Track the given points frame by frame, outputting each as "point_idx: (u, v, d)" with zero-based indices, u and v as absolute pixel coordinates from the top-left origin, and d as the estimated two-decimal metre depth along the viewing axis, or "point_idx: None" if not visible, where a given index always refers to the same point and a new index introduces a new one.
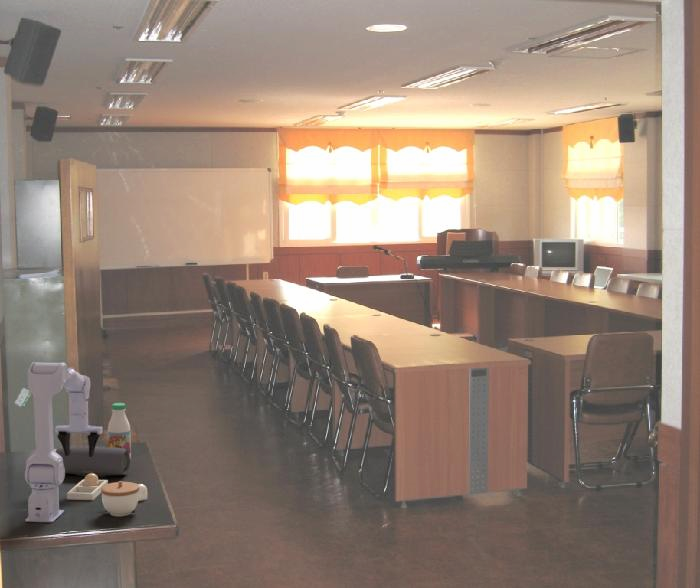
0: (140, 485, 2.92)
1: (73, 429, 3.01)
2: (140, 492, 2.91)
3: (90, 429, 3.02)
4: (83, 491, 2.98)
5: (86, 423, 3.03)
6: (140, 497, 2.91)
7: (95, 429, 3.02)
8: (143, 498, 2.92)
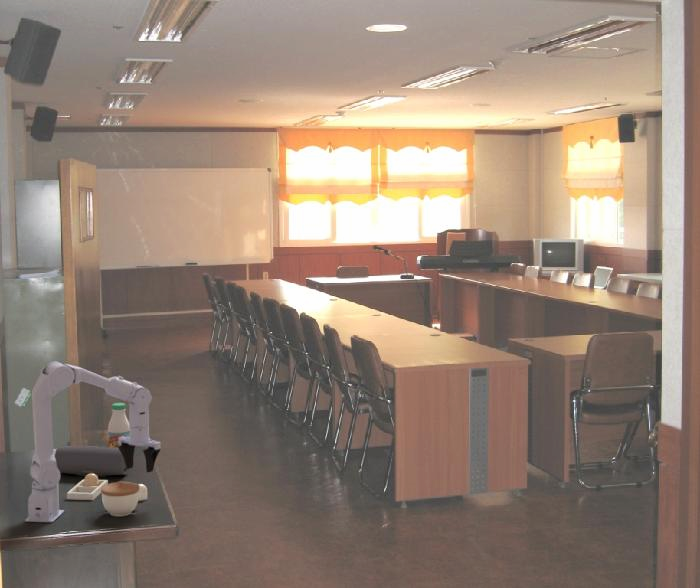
0: (140, 485, 2.92)
1: (131, 442, 2.89)
2: (140, 492, 2.91)
3: (147, 443, 2.88)
4: (83, 491, 2.98)
5: (145, 437, 2.90)
6: (140, 497, 2.91)
7: (152, 444, 2.88)
8: (143, 498, 2.92)
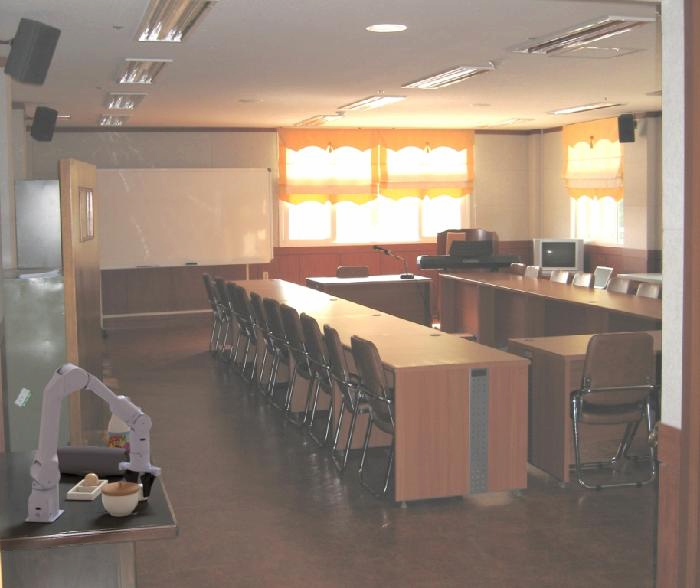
0: (140, 485, 2.92)
1: (131, 468, 2.90)
2: (140, 492, 2.91)
3: (147, 470, 2.89)
4: (83, 491, 2.98)
5: (145, 463, 2.90)
6: (140, 497, 2.91)
7: (152, 470, 2.89)
8: (143, 498, 2.92)
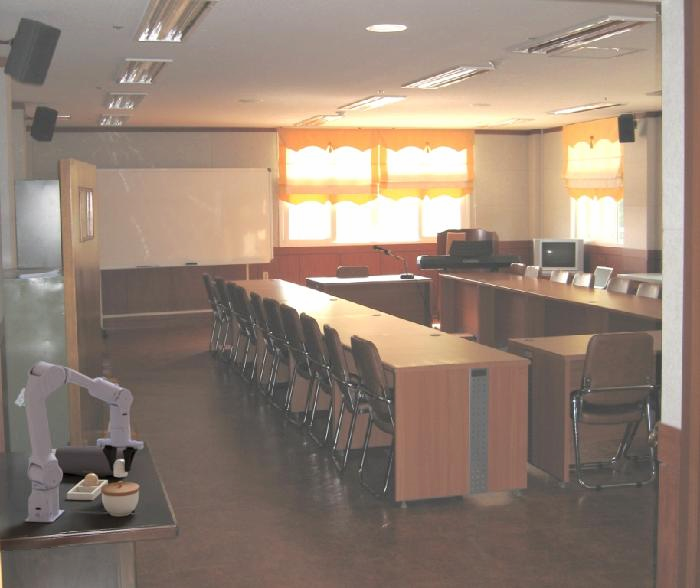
0: (121, 460, 2.94)
1: (113, 443, 2.91)
2: (122, 467, 2.93)
3: (130, 444, 2.92)
4: (83, 491, 2.98)
5: (127, 437, 2.93)
6: (122, 472, 2.93)
7: (135, 444, 2.92)
8: (125, 472, 2.94)
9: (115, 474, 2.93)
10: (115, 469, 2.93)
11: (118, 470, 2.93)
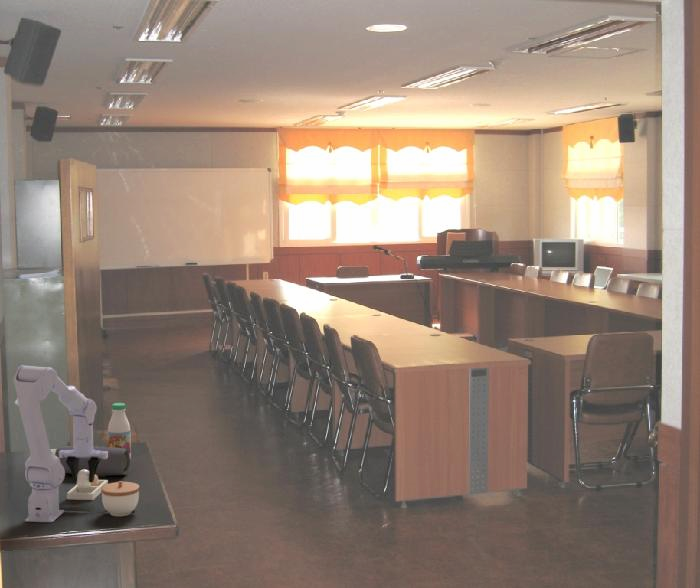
0: (85, 470, 2.94)
1: (77, 454, 2.91)
2: (86, 477, 2.93)
3: (95, 454, 2.92)
4: (83, 491, 2.98)
5: (91, 448, 2.93)
6: (86, 482, 2.93)
7: (100, 454, 2.92)
8: (89, 483, 2.94)
9: (79, 485, 2.93)
10: (79, 480, 2.93)
11: (83, 481, 2.93)
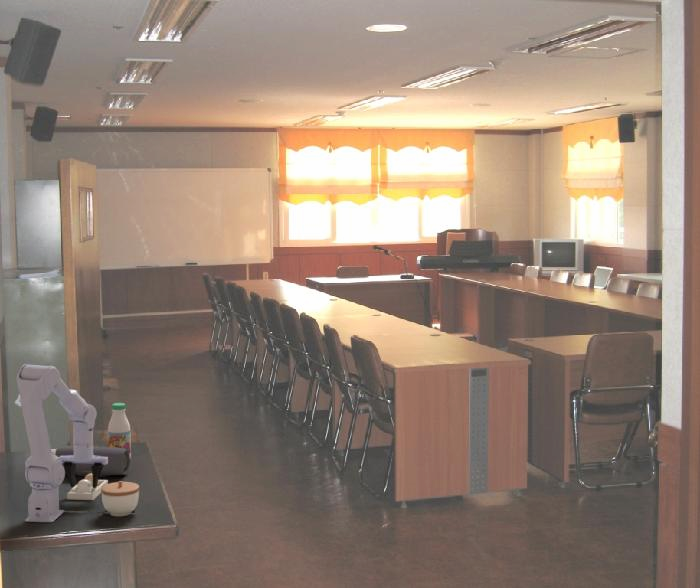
0: (85, 480, 2.94)
1: (78, 460, 2.91)
2: (87, 487, 2.93)
3: (95, 459, 2.92)
4: None
5: (91, 453, 2.93)
6: (87, 492, 2.94)
7: (100, 459, 2.93)
8: None
9: None
10: (80, 490, 2.93)
11: (83, 491, 2.93)
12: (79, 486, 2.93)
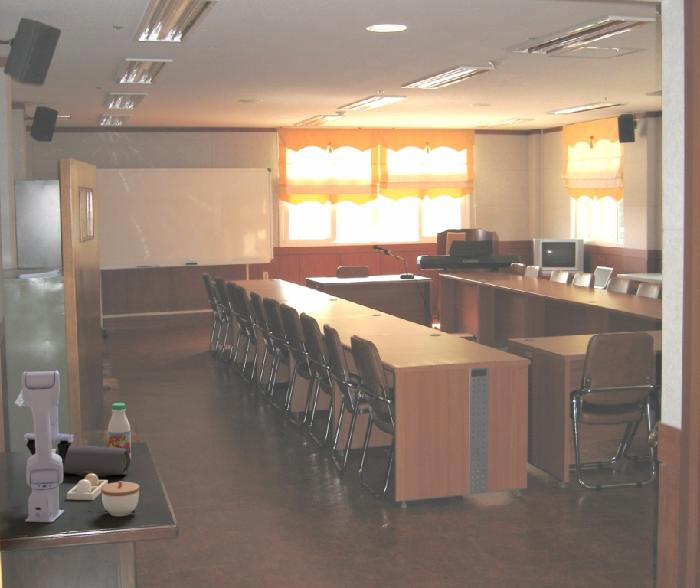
0: (85, 480, 2.94)
1: None
2: (86, 487, 2.93)
3: (60, 437, 2.91)
4: None
5: (56, 431, 2.92)
6: (86, 492, 2.94)
7: (65, 437, 2.91)
8: (89, 492, 2.94)
9: None
10: (79, 490, 2.93)
11: (83, 491, 2.93)
12: (79, 486, 2.93)
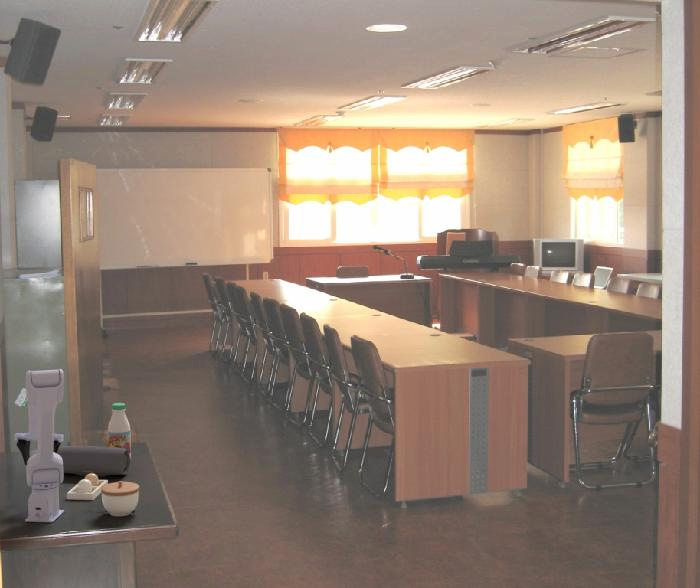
0: (85, 480, 2.94)
1: (32, 437, 2.90)
2: (86, 487, 2.93)
3: None
4: None
5: None
6: (86, 492, 2.94)
7: (56, 437, 2.91)
8: None
9: None
10: (79, 489, 2.93)
11: (83, 490, 2.93)
12: (79, 486, 2.93)
